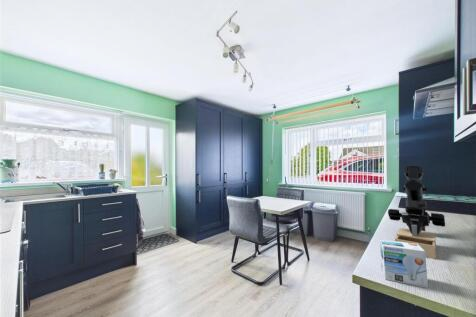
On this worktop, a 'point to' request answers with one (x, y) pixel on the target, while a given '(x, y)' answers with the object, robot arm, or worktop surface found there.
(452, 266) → the worktop surface
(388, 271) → the light bulb box
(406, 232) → the sliding lid
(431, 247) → the wooden box
